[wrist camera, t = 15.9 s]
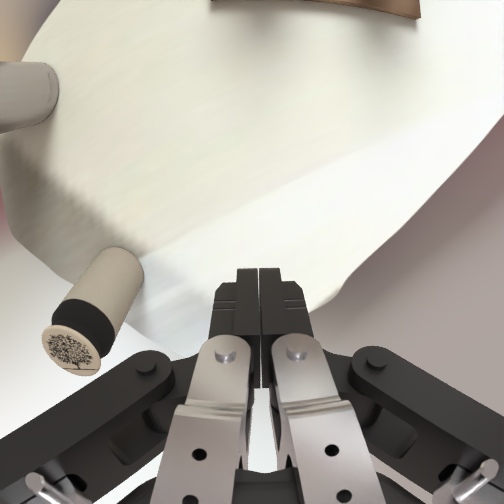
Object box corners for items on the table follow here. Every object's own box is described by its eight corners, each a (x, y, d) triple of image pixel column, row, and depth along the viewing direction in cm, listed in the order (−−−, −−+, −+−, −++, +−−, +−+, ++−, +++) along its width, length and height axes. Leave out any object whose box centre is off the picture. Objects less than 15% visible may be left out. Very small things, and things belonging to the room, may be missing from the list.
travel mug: (91, 246, 43) (29, 322, 27) (139, 245, 43) (88, 328, 27) (103, 291, 47) (55, 373, 31) (148, 292, 47) (111, 382, 31)
